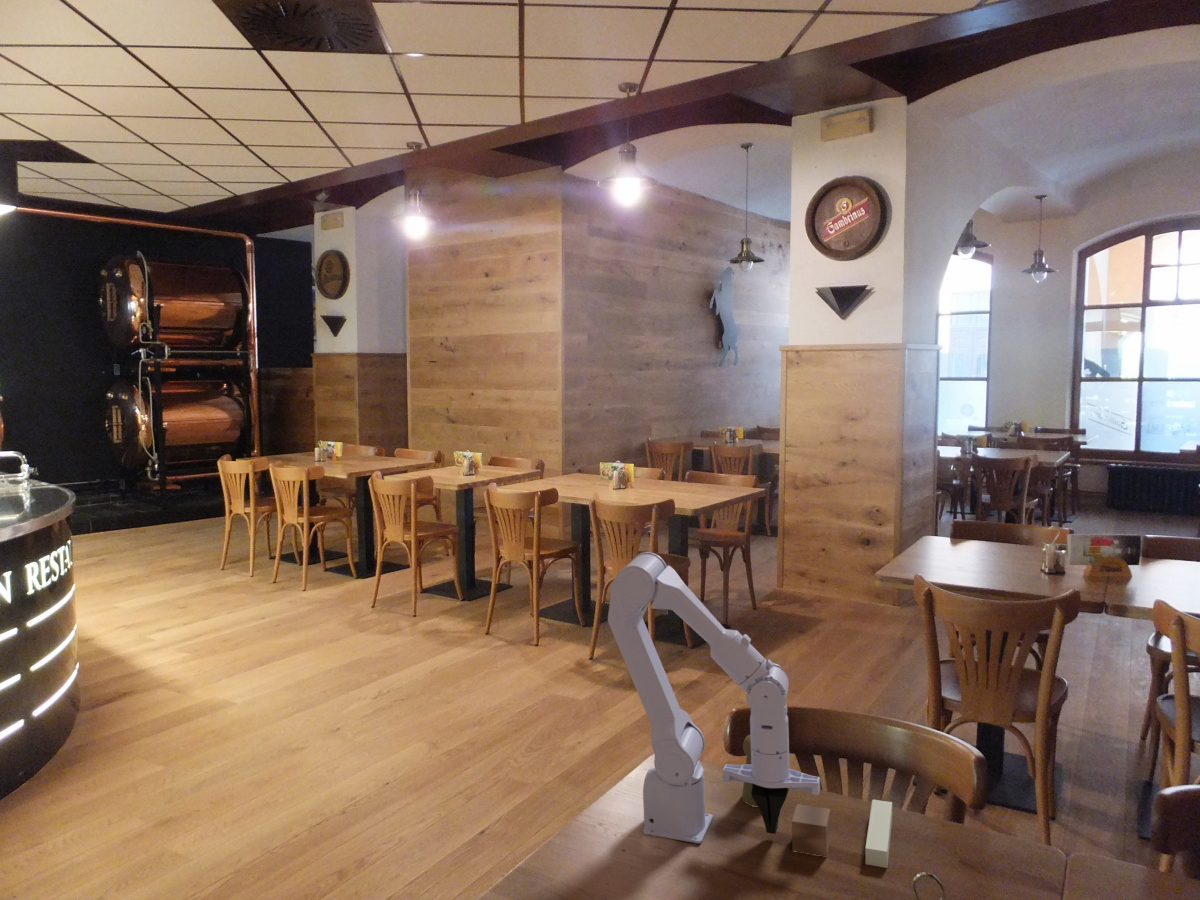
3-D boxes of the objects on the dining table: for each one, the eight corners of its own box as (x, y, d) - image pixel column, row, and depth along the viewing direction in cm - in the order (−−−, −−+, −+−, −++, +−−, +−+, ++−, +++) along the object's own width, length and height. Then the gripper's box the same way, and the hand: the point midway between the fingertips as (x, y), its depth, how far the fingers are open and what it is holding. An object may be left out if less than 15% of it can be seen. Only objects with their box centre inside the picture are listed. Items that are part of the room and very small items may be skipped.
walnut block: (792, 852, 127) (791, 821, 126) (797, 834, 131) (797, 803, 131) (826, 858, 125) (826, 826, 124) (830, 839, 130) (830, 809, 129)
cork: (778, 809, 138) (777, 745, 137) (741, 807, 140) (739, 744, 138) (778, 790, 144) (777, 729, 143) (742, 788, 146) (740, 727, 144)
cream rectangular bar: (865, 864, 123) (865, 848, 123) (872, 814, 136) (872, 799, 135) (887, 868, 122) (887, 851, 121) (892, 817, 135) (892, 802, 134)
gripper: (821, 740, 130) (823, 823, 131) (728, 729, 135) (731, 809, 137) (815, 761, 123) (817, 849, 125) (718, 748, 129) (721, 832, 130)
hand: (772, 829), depth 130 cm, fingers closed
